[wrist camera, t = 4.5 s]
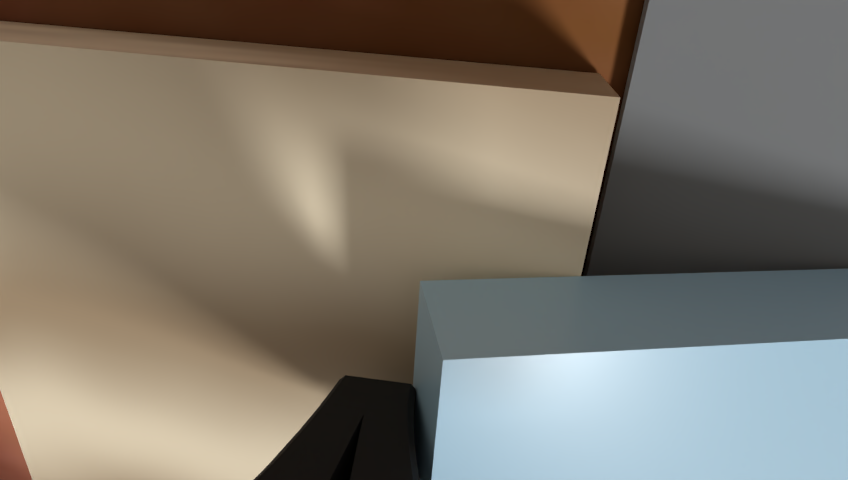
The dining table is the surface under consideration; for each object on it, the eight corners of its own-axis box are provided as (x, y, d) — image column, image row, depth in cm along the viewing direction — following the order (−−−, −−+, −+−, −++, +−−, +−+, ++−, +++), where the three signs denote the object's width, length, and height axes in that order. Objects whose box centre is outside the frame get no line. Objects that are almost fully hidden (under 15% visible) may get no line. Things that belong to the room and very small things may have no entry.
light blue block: (890, 267, 11) (1003, 330, 9) (780, 487, 13) (850, 569, 12) (419, 280, 9) (443, 360, 7) (403, 525, 12) (417, 627, 10)
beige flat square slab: (509, 522, 15) (510, 595, 14) (96, 458, 16) (46, 519, 15) (599, 73, 10) (620, 97, 8) (-26, 18, 11) (-129, 29, 9)
